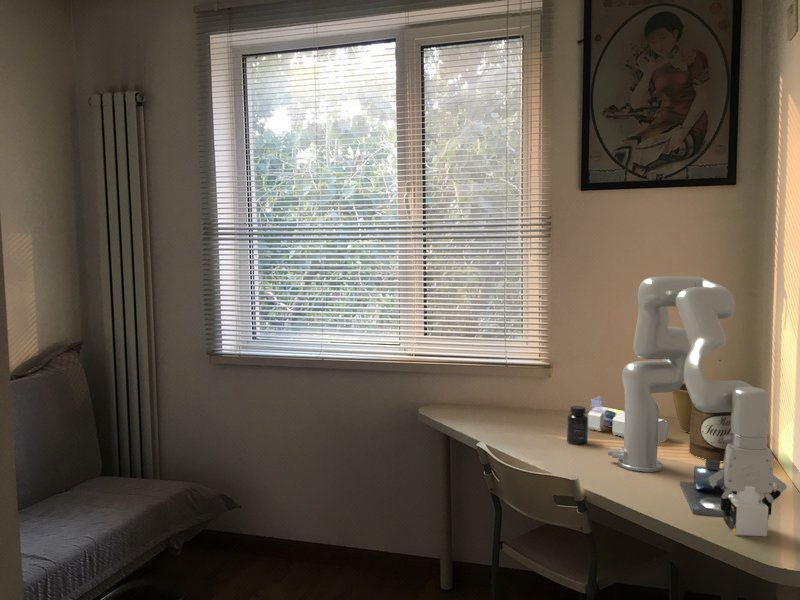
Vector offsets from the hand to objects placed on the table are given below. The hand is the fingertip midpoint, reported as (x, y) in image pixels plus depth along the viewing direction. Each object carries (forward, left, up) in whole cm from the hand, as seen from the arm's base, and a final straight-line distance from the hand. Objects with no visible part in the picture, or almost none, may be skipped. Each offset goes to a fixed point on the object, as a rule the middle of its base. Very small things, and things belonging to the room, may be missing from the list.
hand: (745, 515), depth 155 cm
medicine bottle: (0, 0, -4) cm, 4 cm away
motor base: (-3, +17, -4) cm, 18 cm away
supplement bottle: (-37, +62, -4) cm, 72 cm away
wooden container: (+5, +59, -4) cm, 59 cm away
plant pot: (+3, +86, -4) cm, 86 cm away
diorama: (-20, +76, -4) cm, 79 cm away
